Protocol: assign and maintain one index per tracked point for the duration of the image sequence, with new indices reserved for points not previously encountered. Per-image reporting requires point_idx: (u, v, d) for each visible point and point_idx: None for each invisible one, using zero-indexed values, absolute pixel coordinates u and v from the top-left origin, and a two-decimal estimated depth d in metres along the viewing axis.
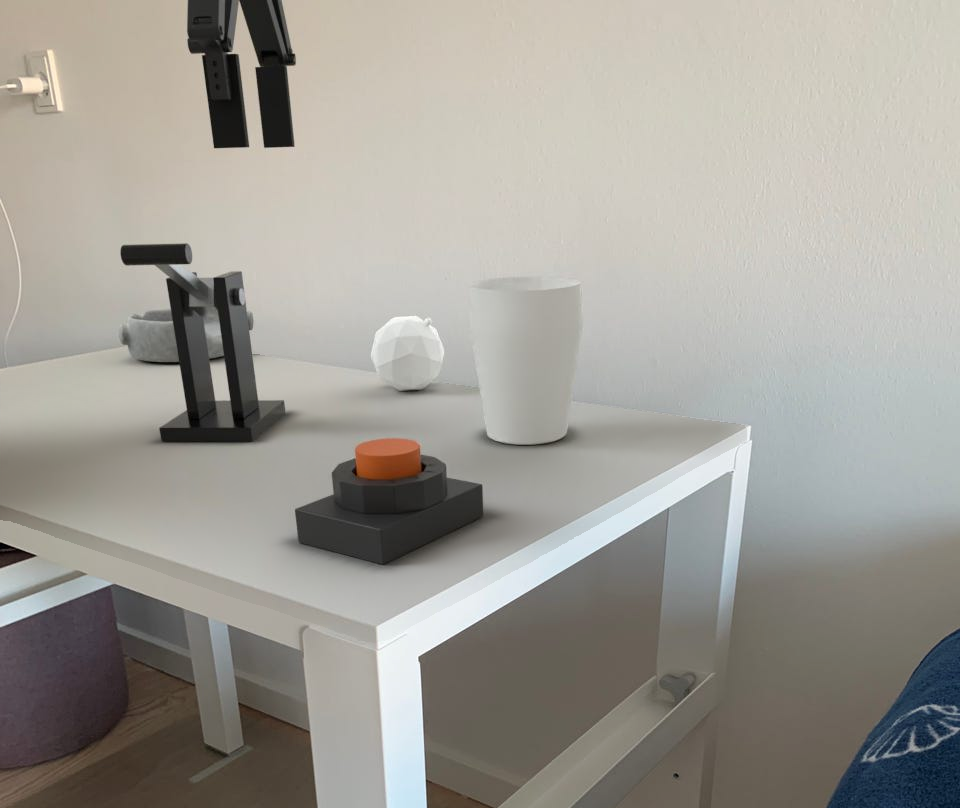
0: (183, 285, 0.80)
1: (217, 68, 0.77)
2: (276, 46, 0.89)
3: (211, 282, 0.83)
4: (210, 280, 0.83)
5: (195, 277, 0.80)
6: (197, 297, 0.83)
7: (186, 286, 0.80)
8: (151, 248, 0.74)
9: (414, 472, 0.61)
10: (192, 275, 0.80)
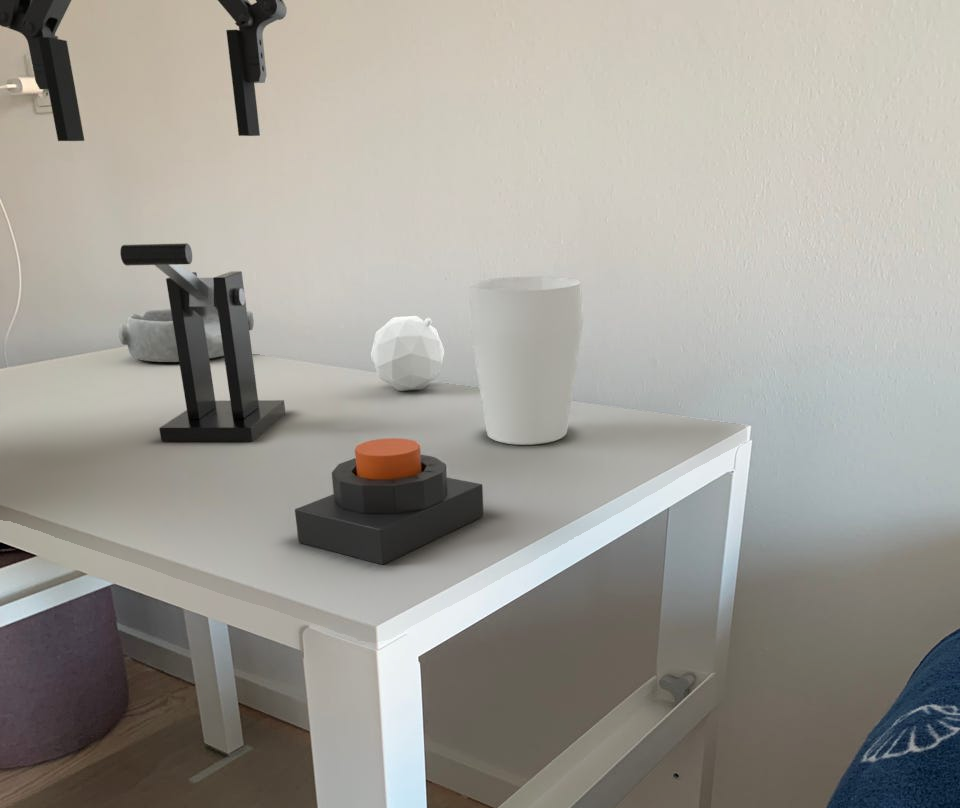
0: (183, 285, 0.80)
1: (261, 48, 0.70)
2: (61, 15, 0.71)
3: (211, 282, 0.83)
4: (210, 280, 0.83)
5: (195, 277, 0.80)
6: (197, 297, 0.83)
7: (186, 286, 0.80)
8: (151, 248, 0.74)
9: (414, 472, 0.61)
10: (192, 275, 0.80)
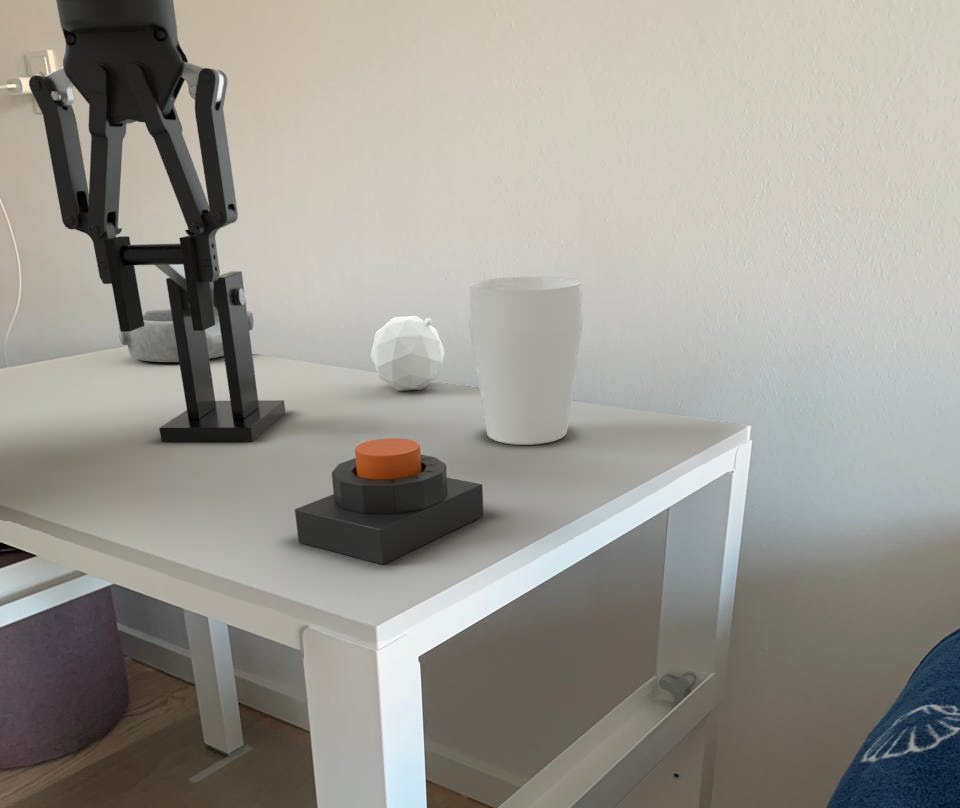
0: (183, 285, 0.80)
1: (214, 250, 0.74)
2: (117, 206, 0.74)
3: (211, 282, 0.83)
4: None
5: None
6: None
7: (186, 286, 0.80)
8: (151, 248, 0.74)
9: (414, 472, 0.61)
10: None
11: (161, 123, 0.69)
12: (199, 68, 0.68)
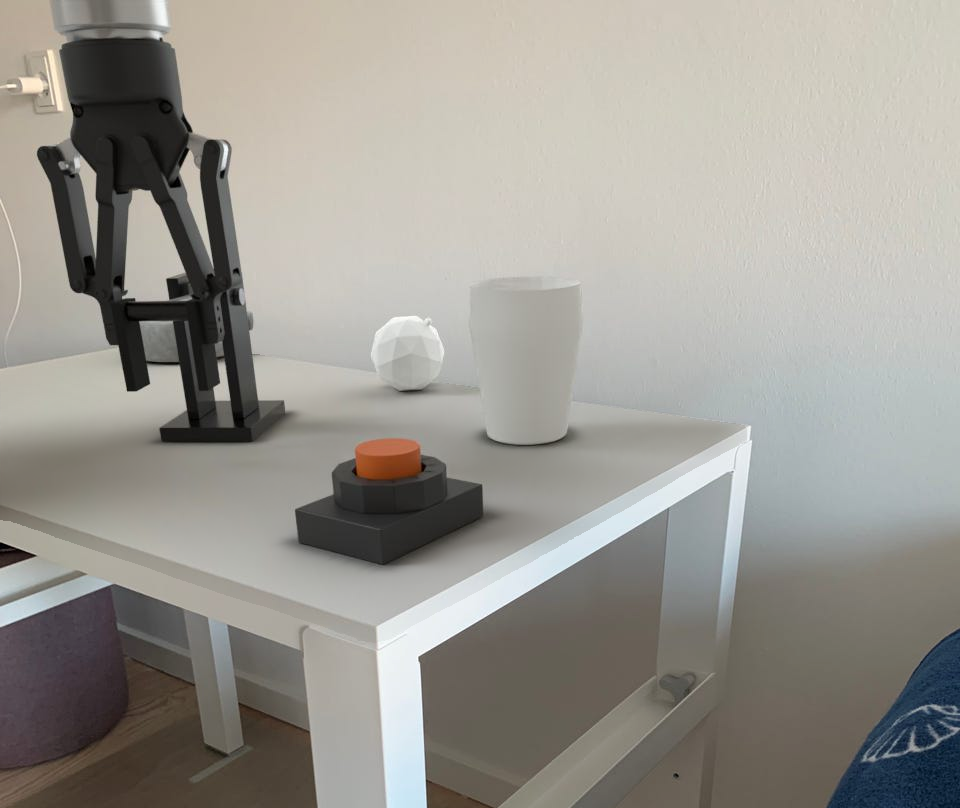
0: None
1: (219, 312, 0.75)
2: (123, 269, 0.75)
3: None
4: None
5: None
6: None
7: None
8: (155, 309, 0.75)
9: (414, 472, 0.61)
10: None
11: (167, 192, 0.70)
12: (204, 139, 0.69)
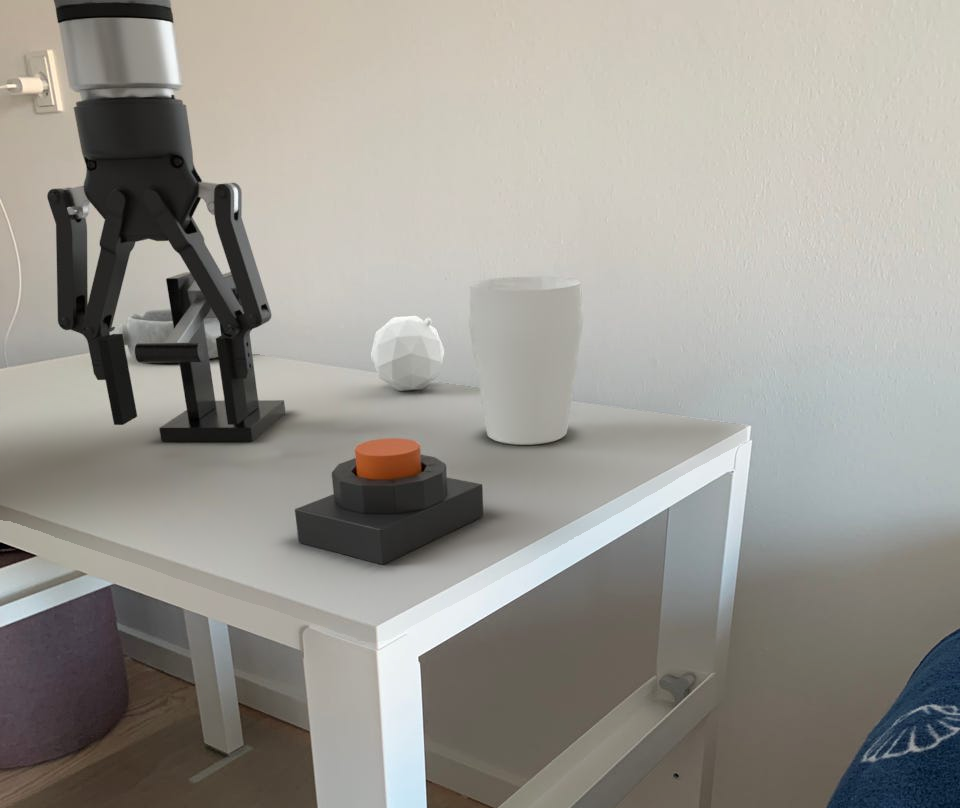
0: None
1: (248, 348, 0.77)
2: (114, 309, 0.77)
3: None
4: None
5: (198, 314, 0.81)
6: None
7: None
8: (164, 354, 0.76)
9: (414, 472, 0.61)
10: (196, 318, 0.81)
11: (184, 238, 0.72)
12: (213, 185, 0.71)
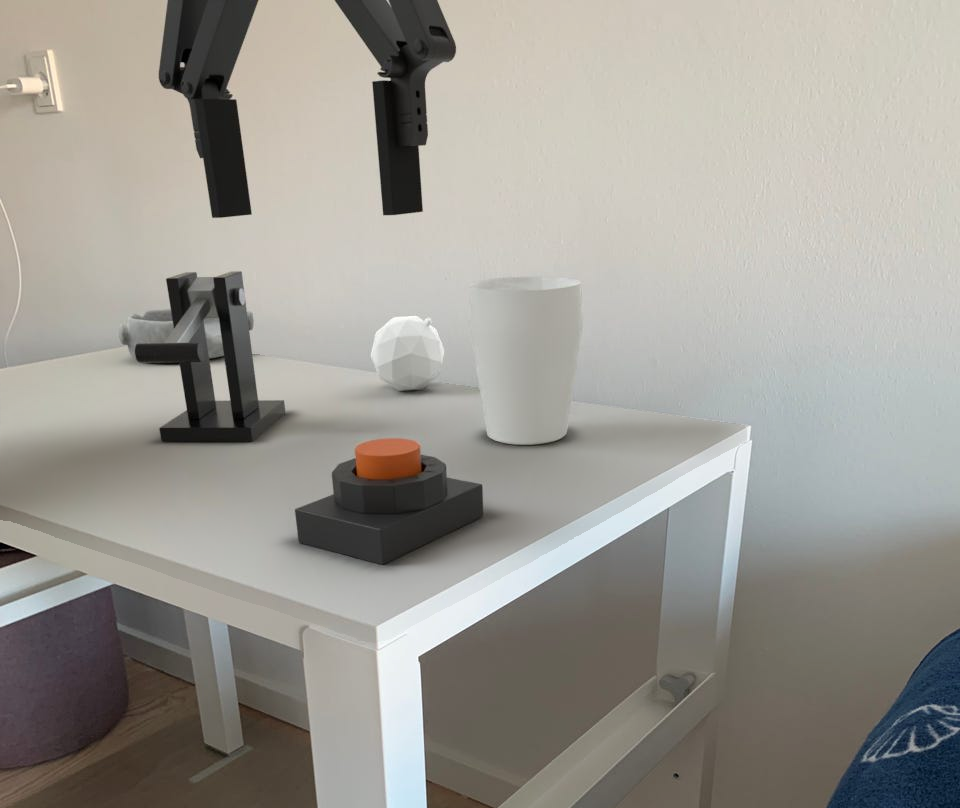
0: None
1: (419, 101, 0.53)
2: (229, 70, 0.60)
3: (210, 295, 0.83)
4: (209, 293, 0.83)
5: (198, 314, 0.81)
6: None
7: None
8: (164, 354, 0.76)
9: (414, 472, 0.61)
10: (196, 318, 0.81)
11: None
12: None
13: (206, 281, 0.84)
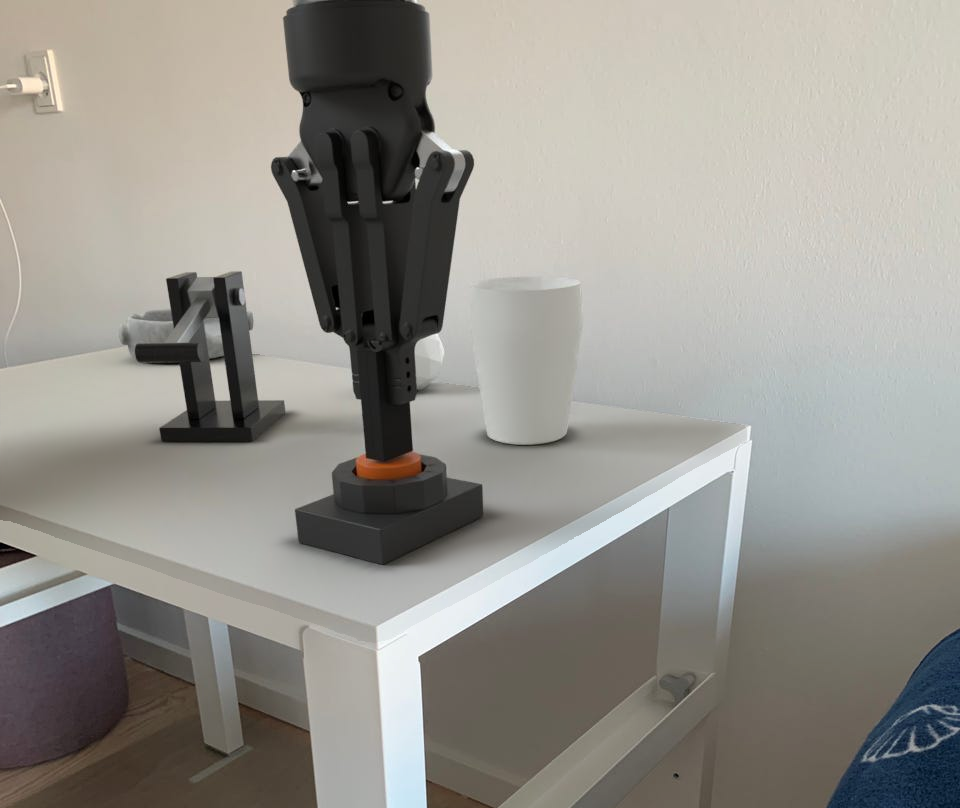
0: None
1: (409, 366, 0.58)
2: None
3: (210, 295, 0.83)
4: (209, 293, 0.83)
5: (198, 314, 0.81)
6: None
7: None
8: (164, 354, 0.76)
9: None
10: (196, 318, 0.81)
11: (375, 210, 0.53)
12: (436, 146, 0.51)
13: (206, 281, 0.84)
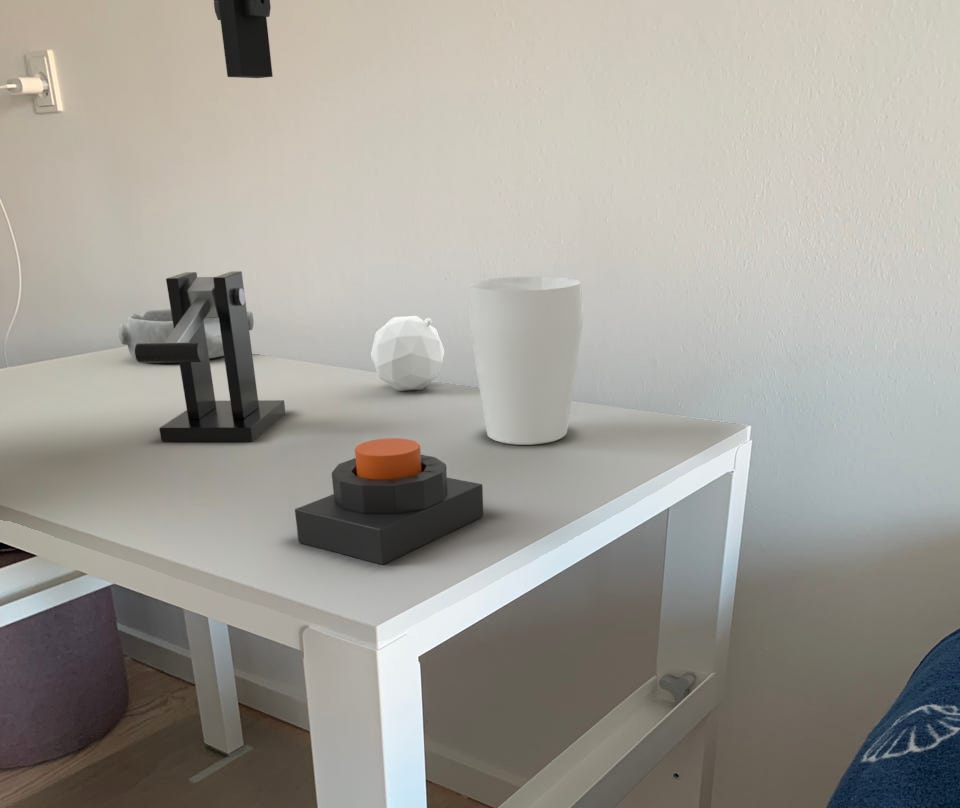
0: None
1: None
2: None
3: (210, 295, 0.83)
4: (209, 293, 0.83)
5: (198, 314, 0.81)
6: None
7: None
8: (164, 354, 0.76)
9: (414, 472, 0.61)
10: (196, 318, 0.81)
11: None
12: None
13: (206, 281, 0.84)
